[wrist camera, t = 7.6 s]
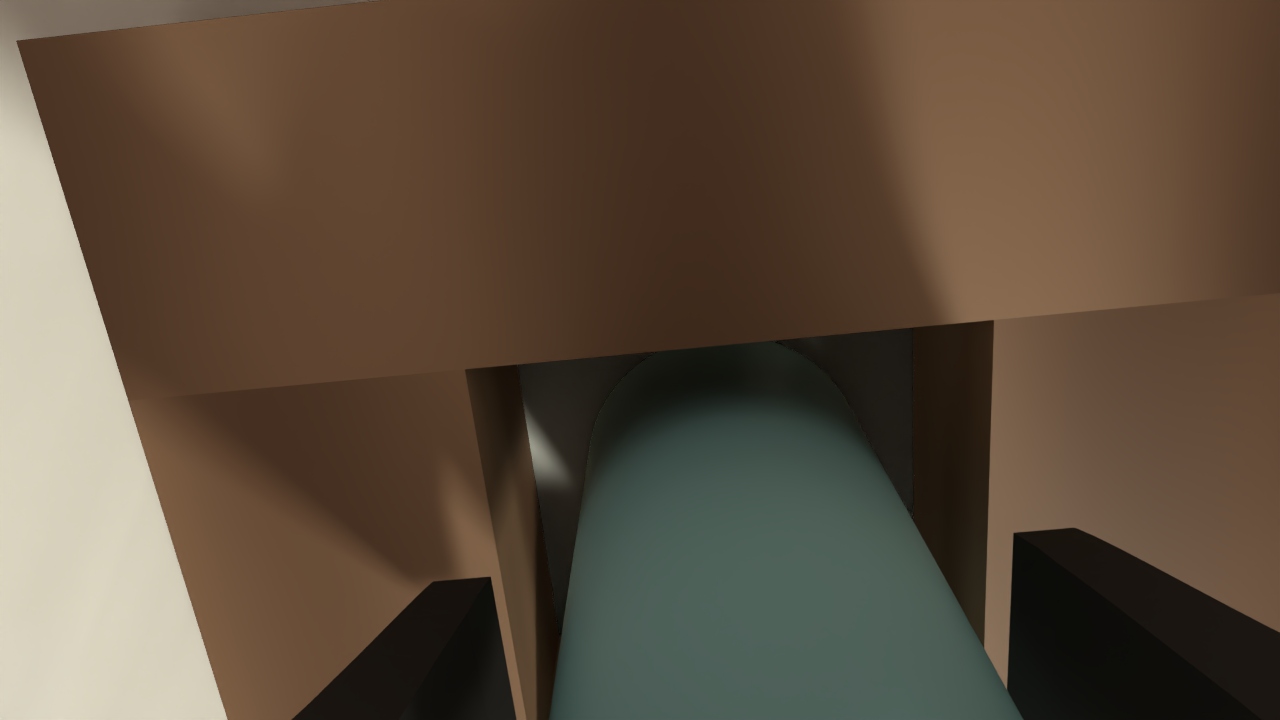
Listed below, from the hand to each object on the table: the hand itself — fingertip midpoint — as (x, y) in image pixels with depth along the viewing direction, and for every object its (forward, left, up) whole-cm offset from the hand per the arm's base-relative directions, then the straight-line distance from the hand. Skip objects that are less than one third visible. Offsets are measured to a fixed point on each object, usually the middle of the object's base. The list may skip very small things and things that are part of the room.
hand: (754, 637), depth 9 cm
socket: (0, 0, -4) cm, 4 cm away
